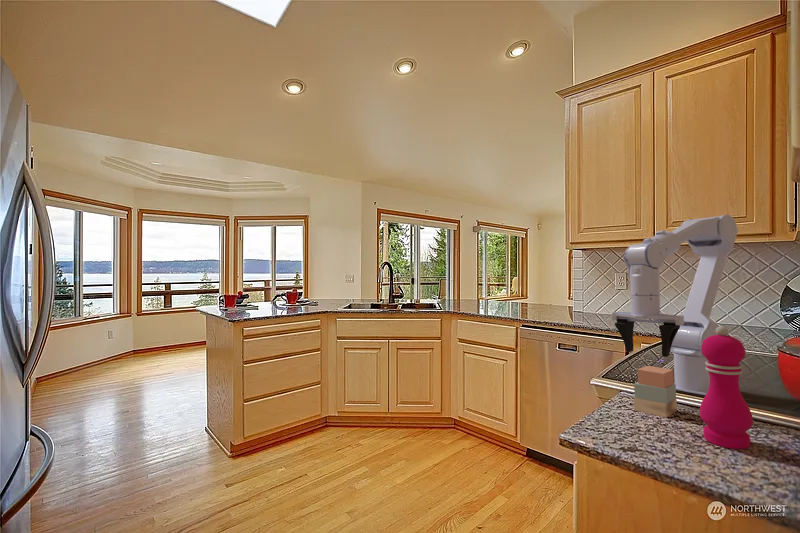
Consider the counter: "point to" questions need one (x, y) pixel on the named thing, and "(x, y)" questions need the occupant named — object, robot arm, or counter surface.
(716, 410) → the pepper mill
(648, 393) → the middle block
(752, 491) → the counter surface
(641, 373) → the terracotta block
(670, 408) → the base block
